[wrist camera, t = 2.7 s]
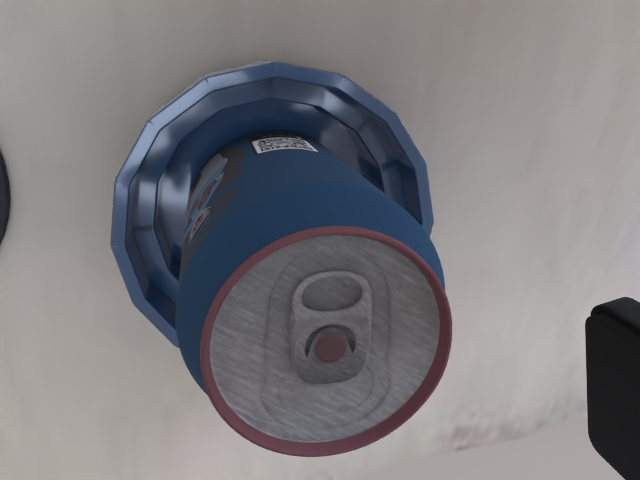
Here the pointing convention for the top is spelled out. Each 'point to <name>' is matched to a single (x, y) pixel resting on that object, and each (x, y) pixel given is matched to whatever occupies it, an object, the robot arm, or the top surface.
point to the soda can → (307, 298)
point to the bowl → (227, 125)
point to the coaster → (3, 198)
